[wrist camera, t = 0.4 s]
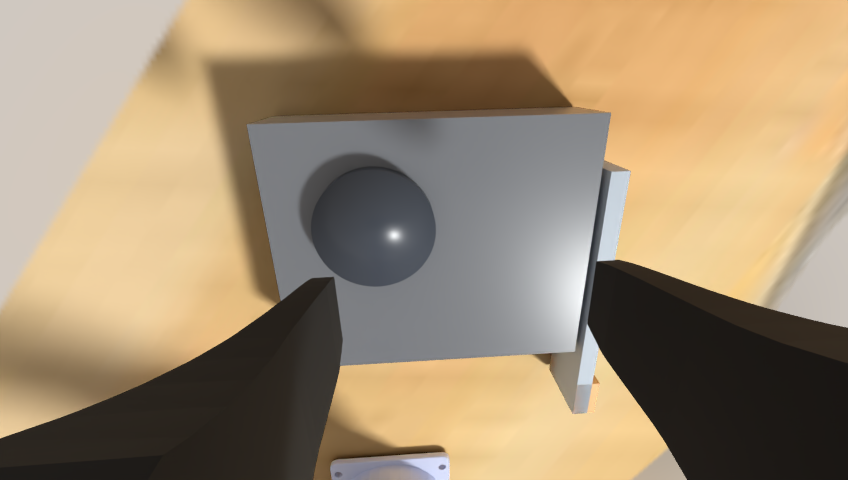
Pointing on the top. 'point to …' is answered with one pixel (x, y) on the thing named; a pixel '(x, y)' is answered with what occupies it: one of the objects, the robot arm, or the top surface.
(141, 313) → the top surface
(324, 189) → the grey flat block
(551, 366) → the side door
